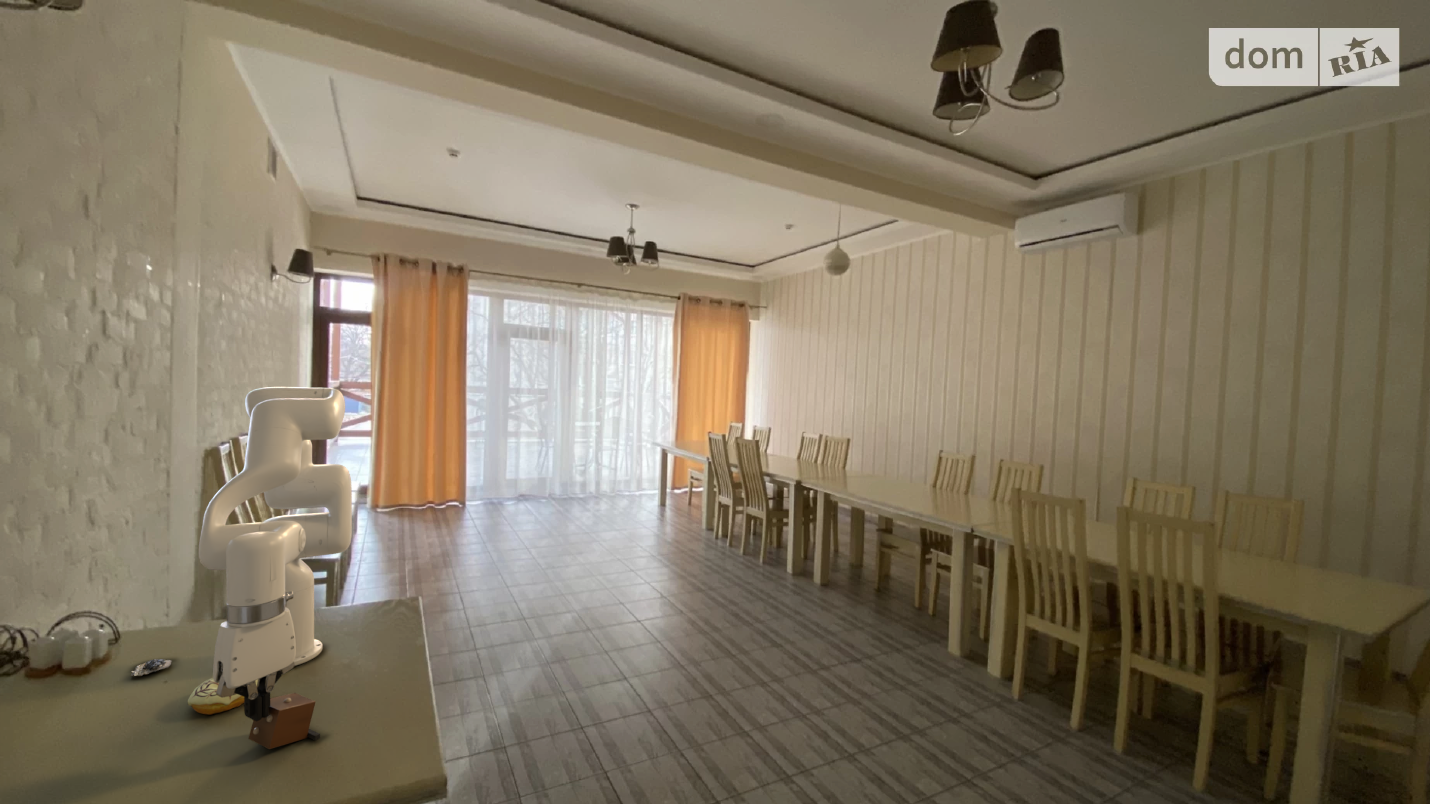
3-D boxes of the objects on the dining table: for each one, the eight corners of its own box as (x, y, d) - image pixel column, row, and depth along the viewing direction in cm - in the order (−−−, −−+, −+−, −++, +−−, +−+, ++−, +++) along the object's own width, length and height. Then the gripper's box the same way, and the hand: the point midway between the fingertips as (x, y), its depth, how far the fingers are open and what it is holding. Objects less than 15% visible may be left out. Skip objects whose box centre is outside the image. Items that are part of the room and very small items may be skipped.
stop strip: (281, 724, 102) (281, 720, 102) (286, 722, 103) (285, 717, 103) (315, 740, 98) (315, 736, 98) (320, 738, 98) (320, 733, 98)
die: (243, 738, 95) (254, 697, 96) (284, 727, 101) (294, 688, 102) (265, 750, 92) (276, 707, 94) (306, 738, 98) (316, 698, 100)
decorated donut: (173, 717, 103) (172, 697, 103) (220, 685, 114) (220, 667, 113) (233, 716, 104) (233, 696, 103) (275, 684, 114) (274, 666, 114)
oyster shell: (134, 681, 114) (134, 672, 114) (121, 670, 118) (121, 661, 118) (179, 667, 120) (178, 658, 120) (164, 657, 124) (164, 648, 124)
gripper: (292, 589, 101) (293, 688, 102) (187, 621, 88) (189, 735, 89) (318, 597, 98) (318, 700, 99) (213, 631, 85) (214, 750, 86)
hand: (257, 716), depth 94 cm, fingers closed
